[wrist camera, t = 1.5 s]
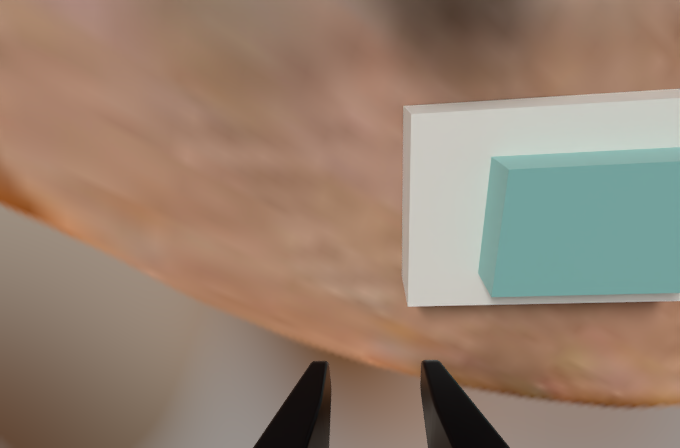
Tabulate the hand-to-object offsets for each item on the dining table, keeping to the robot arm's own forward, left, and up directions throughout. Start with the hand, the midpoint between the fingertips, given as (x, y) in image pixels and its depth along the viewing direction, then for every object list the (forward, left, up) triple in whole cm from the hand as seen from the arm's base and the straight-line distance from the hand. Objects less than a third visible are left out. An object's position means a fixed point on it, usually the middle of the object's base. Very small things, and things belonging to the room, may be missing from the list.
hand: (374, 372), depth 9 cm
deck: (-9, 0, -12) cm, 15 cm away
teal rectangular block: (-10, 0, -9) cm, 13 cm away
